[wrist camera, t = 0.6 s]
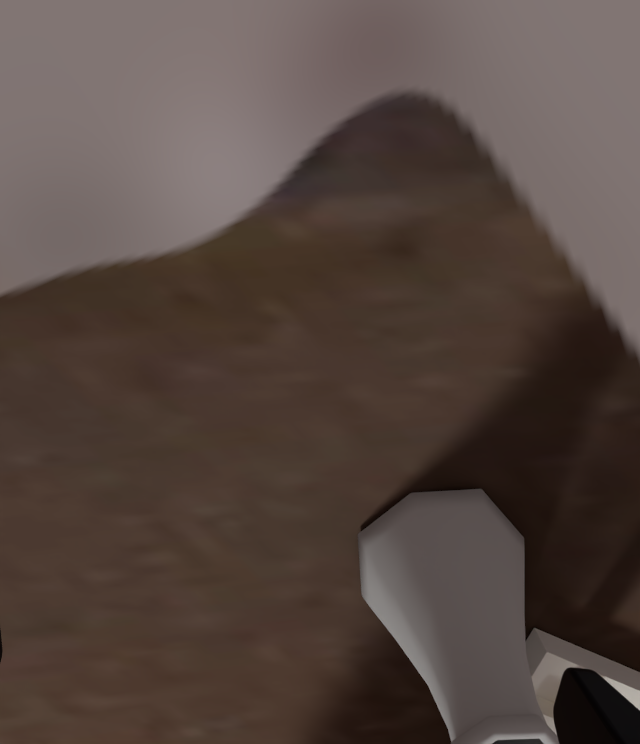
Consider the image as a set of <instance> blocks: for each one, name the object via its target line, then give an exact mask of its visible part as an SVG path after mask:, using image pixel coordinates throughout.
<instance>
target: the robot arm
mask: <svg viewBox="0 0 640 744" xmlns="http://www.w3.org/2000/svg"><path fill="white" fill-rule="evenodd" d="M1 658H2V641H1V630H0V662H1ZM553 719H554V725H555V729H556V733H557V737H558V741H559V744H640V710H639V709H638V708H636V707H635V706H634V705H633V704H632V703H631V702H630V701H629V700H627V699H626V698H625V697H624V696H623V695H622V694H621V693H620V692H618V691H617V690H616V689H615V688H614V687H613V686H612V685H610V684H609V683H608V682H607V681H606V680H605V679H604V678H603V677H601V676H600V675H599V674H598V673H597V672H595V671H594V670H591V669H584V668H574V667H569V668H567V669H566V670H565V671H564V673H563V675H562V678H561V682H560V685H559V689H558V692H557V696H556V699H555V703H554V707H553Z"/></svg>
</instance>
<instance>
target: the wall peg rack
mask: <svg viewBox="0 0 640 744" xmlns="http://www.w3.org/2000/svg"><path fill="white" fill-rule="evenodd" d="M526 655H527V660H528V664H529V669H530V673H531V677H532V682H533V686H534V690H535V695H536V699H537V702H538V705H539V707H540V709H541V712H542V714H543V716H544V719H545V721H546V723H547V725H548V726H549V727H550V728H551V729H552V731H553V732H554V733H555V734H556V735H557V733H556V729H555V725H554V719H553V707H554V703H555V699H556V696H557V692H558V689H559V685H560V682H561V678H562V675H563V673H564V671H565V670H566V669H567V668H569V667H574V668H584V669H591V670H594V671H595V672H597V673H598V674H599V675H600V676H601V677H603V678H604V679H605V680H606V681H607V682H608V683H609V684H610V685H612V686H613V687H614V688H615V689H616V690H617V691H618V692H620V693H621V694H622V695H623V696H624V697H625V698H626V699H627V700H629V701H630V702H631V703H632V704H633V705H634V706H635V707H636V708H638V709H639V710H640V672H638V671H636V670H633V669H631V668H628V667H626V666H624V665H621V664H619V663H617V662H614V661H612V660H609V659H607V658H605V657H602V656H600V655H598V654H595V653H593V652H591V651H588V650H586V649H583V648H581V647H579V646H576V645H574V644H572V643H569V642H567V641H565V640H562V639H560V638H557V637H555V636H553V635H550V634H548V633H546V632H543V631H541V630H539V629H536V628H533V630H532V632H531V633H530V635H529V637H528V638H527V640H526Z"/></svg>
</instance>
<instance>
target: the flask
mask: <svg viewBox="0 0 640 744" xmlns="http://www.w3.org/2000/svg"><path fill="white" fill-rule="evenodd" d="M358 547H359V562H360V577H361V592H362V597H363V598H364V599H365V601H366V602H367V604H368V605H369V606H370V608H371V609H372V610H373V612H374V613H375V614H376V615H377V617H378V618H379V619H380V620H381V622H382V623H383V624H384V626H385V627H386V628H387V629H388V631H389V632H390V633H391V634H392V636H393V637H394V638H395V640H396V641H397V642H398V644H399V645H400V647H401V648H402V649H403V651H404V652H405V654H406V655H407V657H408V658H409V659H410V661H411V662H412V664H413V665H414V666H415V668H416V669H417V671H418V672H419V674H420V675H421V676H422V678H423V679H424V681H425V682H426V683H427V685H428V687H429V689H430V691H431V693H432V696H433V698H434V700H435V702H436V704H437V706H438V709H439V711H440V713H441V715H442V717H443V719H444V722H445V724H446V726H447V728H448V731H449V735H450V739H451V744H559V741H558V737H557V735H556V734H555V733H554V732H553V731H552V729H551V728H550V727H549V726H548V725H547V723H546V721H545V719H544V716H543V714H542V712H541V709H540V707H539V705H538V702H537V699H536V695H535V690H534V686H533V682H532V677H531V673H530V669H529V664H528V660H527V655H526V642H525V614H524V612H525V552H524V537H523V536H522V535H521V534H520V533H519V531H518V530H517V529H516V528H515V527H514V526H513V525H512V523H511V522H510V521H509V520H508V519H507V518H506V516H505V515H504V514H503V513H502V512H501V511H500V510H499V508H498V507H497V506H496V505H495V504H494V503H493V501H492V500H491V499H490V498H489V497H488V496H487V495H486V493H485V492H484V491H483V490H482V489H468V490H450V491H433V492H416V493H410V494H409V495H407V496H406V497H405V498H404V499H402V500H401V501H400V502H398V503H397V504H396V505H395V506H393V507H392V508H391V509H389V510H388V511H387V512H386V513H384V514H383V515H382V516H380V517H379V518H378V519H377V520H375V521H374V522H373V523H371V524H370V525H369V526H368V527H366V528H365V529H364V530H362V531H361V532H360V533H359V534H358Z"/></svg>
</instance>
